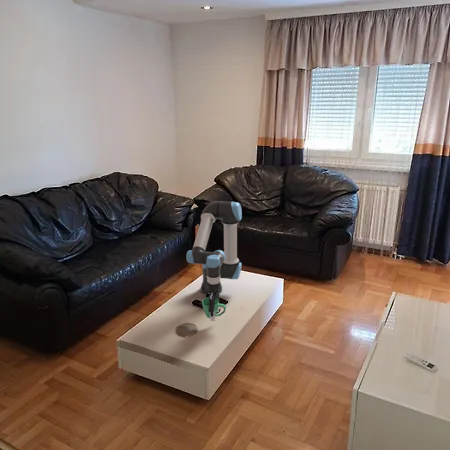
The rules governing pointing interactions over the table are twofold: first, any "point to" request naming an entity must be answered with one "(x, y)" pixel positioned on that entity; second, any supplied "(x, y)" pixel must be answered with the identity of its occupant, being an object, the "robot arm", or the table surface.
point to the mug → (206, 307)
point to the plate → (186, 329)
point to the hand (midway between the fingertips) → (214, 315)
